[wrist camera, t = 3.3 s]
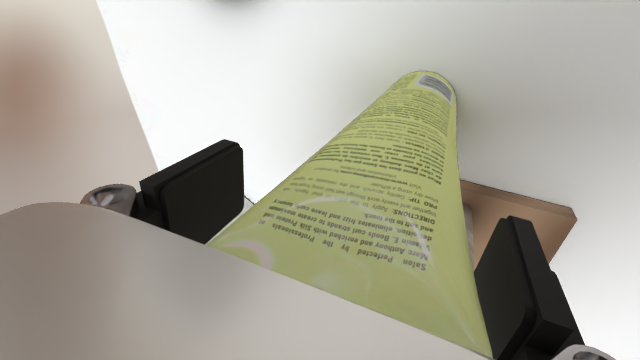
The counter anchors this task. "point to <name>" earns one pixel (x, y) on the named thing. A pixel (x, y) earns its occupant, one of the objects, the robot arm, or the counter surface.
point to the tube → (378, 216)
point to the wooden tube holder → (494, 204)
